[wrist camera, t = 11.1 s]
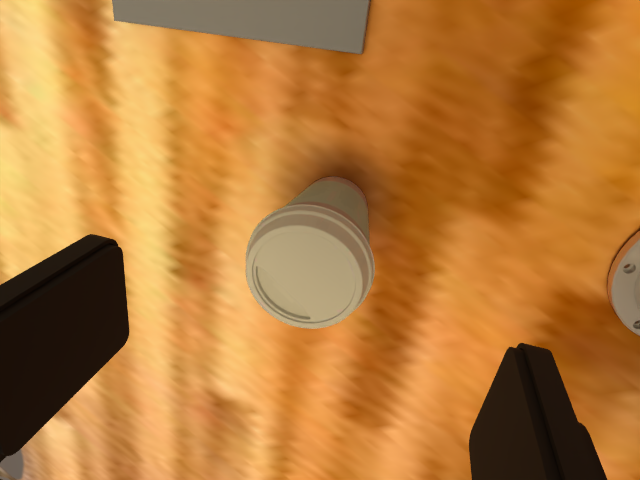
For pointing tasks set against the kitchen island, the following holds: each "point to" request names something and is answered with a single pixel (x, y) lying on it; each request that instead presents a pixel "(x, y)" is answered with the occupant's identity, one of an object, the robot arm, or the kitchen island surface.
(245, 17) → the pin plate
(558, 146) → the kitchen island surface
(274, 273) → the coffee cup
